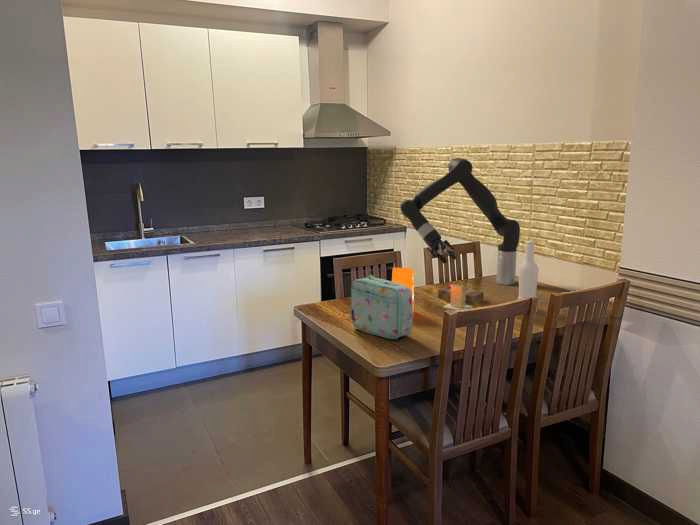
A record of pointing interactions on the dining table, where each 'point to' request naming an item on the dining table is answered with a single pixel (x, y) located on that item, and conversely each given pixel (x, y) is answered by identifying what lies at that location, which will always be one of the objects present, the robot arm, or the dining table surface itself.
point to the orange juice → (404, 278)
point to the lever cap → (458, 295)
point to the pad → (456, 307)
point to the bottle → (528, 273)
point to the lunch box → (381, 307)
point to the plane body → (470, 296)
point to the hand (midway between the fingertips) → (450, 260)
